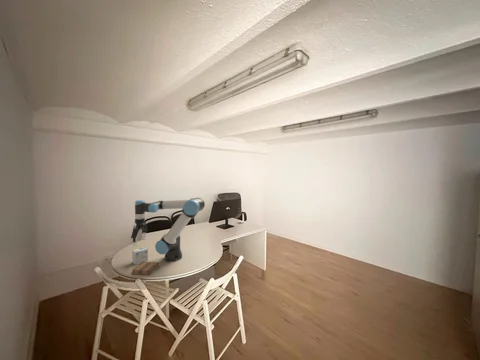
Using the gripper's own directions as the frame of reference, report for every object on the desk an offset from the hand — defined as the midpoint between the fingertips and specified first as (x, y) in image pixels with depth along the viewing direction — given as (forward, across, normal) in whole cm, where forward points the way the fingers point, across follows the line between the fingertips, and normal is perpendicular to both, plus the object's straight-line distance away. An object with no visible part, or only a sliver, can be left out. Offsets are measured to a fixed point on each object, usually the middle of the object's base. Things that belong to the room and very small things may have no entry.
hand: (139, 242), depth 170 cm
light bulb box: (+17, 0, 0) cm, 17 cm away
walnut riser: (+16, +12, +13) cm, 25 cm away
